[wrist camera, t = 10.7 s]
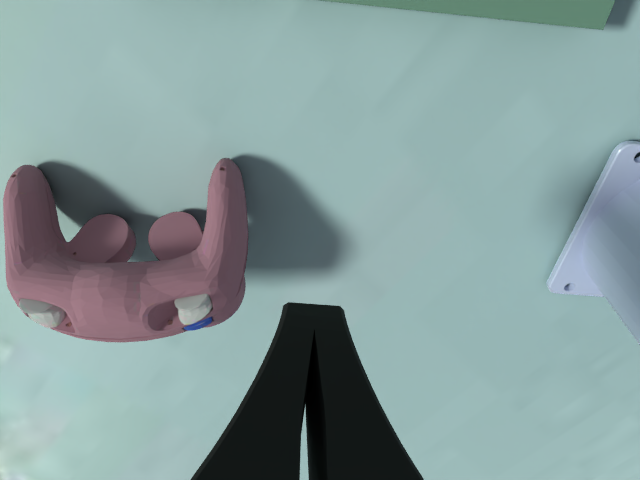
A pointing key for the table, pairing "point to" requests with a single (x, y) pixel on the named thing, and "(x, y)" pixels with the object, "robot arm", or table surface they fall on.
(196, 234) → the video game controller
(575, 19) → the board
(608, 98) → the table surface
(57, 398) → the table surface
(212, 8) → the table surface
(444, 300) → the table surface
